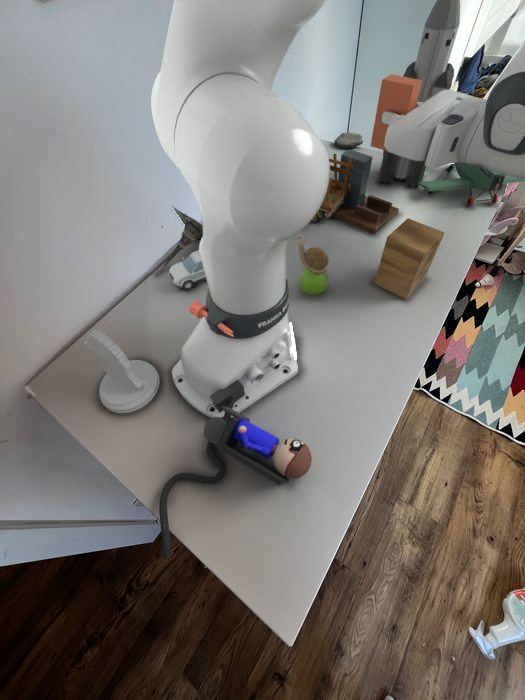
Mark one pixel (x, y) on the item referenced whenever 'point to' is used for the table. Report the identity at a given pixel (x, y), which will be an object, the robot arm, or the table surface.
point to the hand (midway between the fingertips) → (390, 111)
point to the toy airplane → (473, 181)
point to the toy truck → (334, 190)
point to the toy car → (188, 271)
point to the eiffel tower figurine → (186, 234)
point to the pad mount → (362, 197)
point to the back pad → (394, 103)
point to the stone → (348, 140)
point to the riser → (407, 257)
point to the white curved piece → (122, 376)
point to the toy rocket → (427, 81)
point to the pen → (444, 175)
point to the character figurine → (259, 447)
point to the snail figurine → (313, 269)
